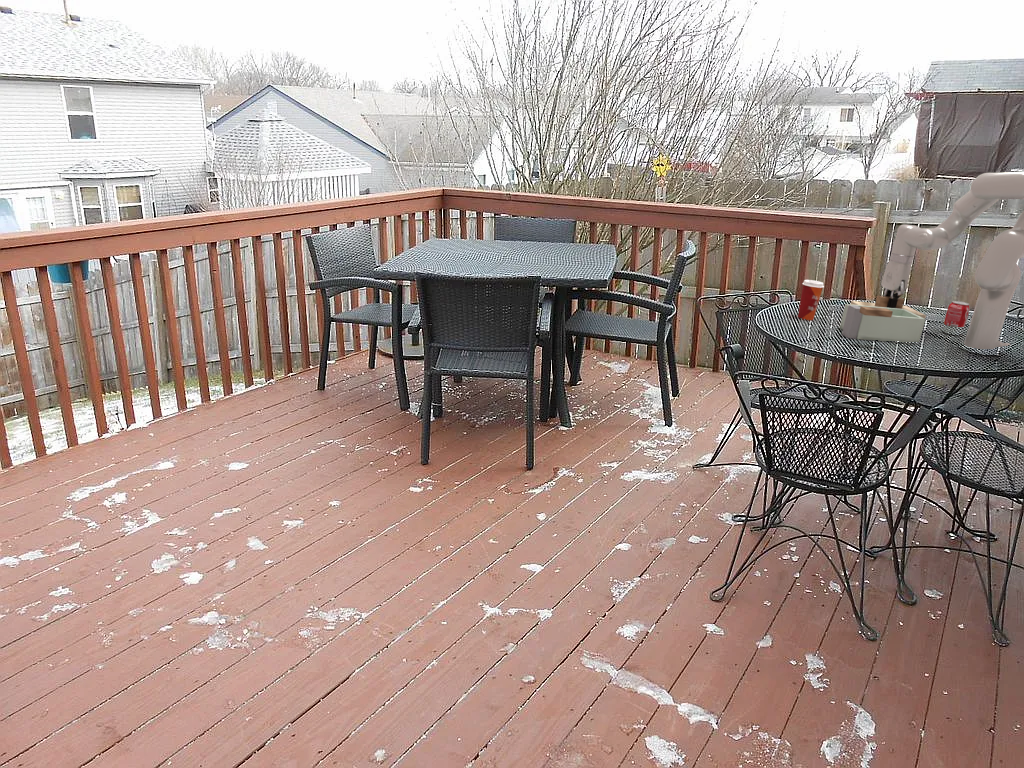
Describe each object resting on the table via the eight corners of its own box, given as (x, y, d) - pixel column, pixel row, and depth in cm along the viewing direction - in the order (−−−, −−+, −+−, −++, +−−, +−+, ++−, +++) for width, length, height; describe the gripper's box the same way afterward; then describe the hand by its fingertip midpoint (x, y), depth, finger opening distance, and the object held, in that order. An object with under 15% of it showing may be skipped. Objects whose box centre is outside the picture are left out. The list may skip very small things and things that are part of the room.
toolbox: (898, 333, 280) (905, 305, 277) (918, 344, 267) (926, 314, 263) (831, 327, 279) (838, 299, 275) (848, 338, 265) (855, 308, 262)
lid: (905, 309, 296) (909, 295, 294) (925, 319, 282) (929, 304, 281) (850, 304, 294) (853, 290, 292) (867, 314, 281) (871, 299, 279)
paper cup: (812, 322, 284) (821, 284, 279) (792, 317, 288) (800, 280, 284) (819, 319, 290) (827, 282, 285) (798, 314, 294) (806, 278, 290)
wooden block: (885, 314, 257) (886, 308, 256) (891, 317, 253) (892, 311, 253) (859, 312, 257) (860, 306, 256) (864, 315, 253) (866, 309, 252)
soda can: (957, 332, 290) (966, 301, 286) (965, 337, 284) (975, 305, 280) (937, 330, 291) (946, 299, 287) (945, 335, 284) (955, 303, 280)
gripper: (880, 254, 289) (868, 301, 295) (902, 262, 274) (889, 312, 280) (900, 256, 290) (887, 303, 296) (923, 264, 274) (909, 314, 280)
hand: (888, 307), depth 288 cm, fingers closed on lid, 3 cm apart
